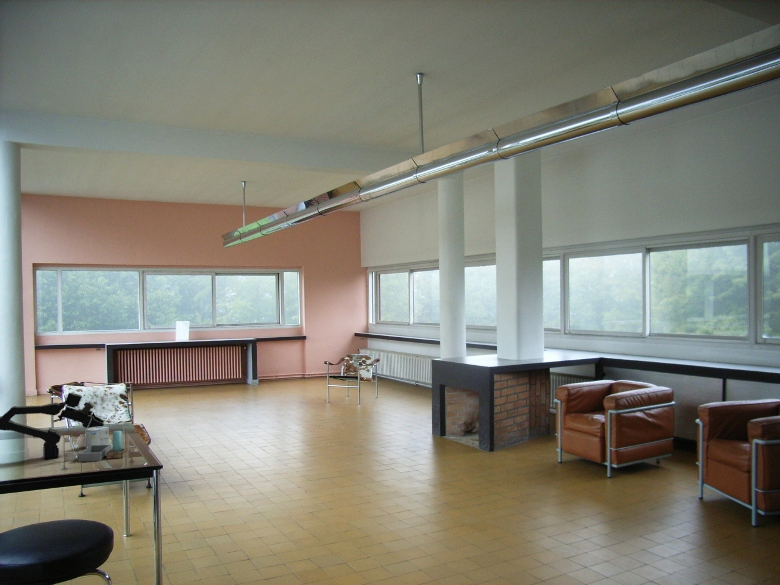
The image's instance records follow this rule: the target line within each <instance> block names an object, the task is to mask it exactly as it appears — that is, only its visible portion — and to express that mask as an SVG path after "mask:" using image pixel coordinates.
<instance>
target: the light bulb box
mask: <svg viewBox="0 0 780 585" xmlns="http://www.w3.org/2000/svg"><path fill="white" fill-rule="evenodd" d="M109 433H110V427H109V426H105V425H104V426H100V427H90V428H85V429H84V434H85V435H84V438H85V439H84V440H85V442H84V443H85V444H84V445H85V448H86V447H89V446H91V445H106V444H109V445H110V434H109Z"/></svg>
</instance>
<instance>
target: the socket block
mask: <svg viewBox="0 0 780 585" xmlns="http://www.w3.org/2000/svg"><path fill="white" fill-rule="evenodd" d="M128 452H129V451H128V448H127V447H124V448H123V447H122V452H113V448H111V450H109V451H108V452H107V456H106V458H107V457H113V458H112V459H123V458H124V457H126V456H127V455H128Z"/></svg>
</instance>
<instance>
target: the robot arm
mask: <svg viewBox="0 0 780 585" xmlns="http://www.w3.org/2000/svg"><path fill="white" fill-rule="evenodd" d="M82 397H83V396H82V395H81V394H78V393H73V392H68V394H67V397H66V399H65V401H62V402H51V403H47V404H42V405H23V406H20V405H19V406H16V405H14V406H11V407H10V408H9V409H8V410H7V411H6V412H5V413H4V414H3V415H1V416H0V431H5V432H6V431H11V432H14V433H15V432H16V433H20V434H22V435H23V434H24V435H27V436H31V437H35V438H38V439H41V440H42V441H44V442H43V447H42V457H41V458H42V459H43V460H44V461H48V459H49V460H55V459H58V458H59V456H60V450H59V449H60V448H59V446H58V445H57V444H58V443H60V441H61V438H62V433H61V432H60V431H58V429H53V428H50V427H49V428H48V429H47V430H44V429H41V428H37V427H33V426H29V425H25V424H22V423H17V422H15V421H14V420H12V419H13V417H15V416H16V415H17V416H18V415H34V414H35V415H36V414H37V415H38V414H43V415H48V416H57V415H58V416H57V418H58V419H59V421H60V422H61V421H62V419H63V418H64V419H68V420H71V421H73V422H78V423H81V424H82V428H85V429H89V428H94V427H100V426H105V424H104V423H105V420H103V419H102V418H100V417H98V416H97V415H96V414H95V412H93V410H92V409H93V408H94V407H95V404H94V403H92V402H91V401H88V402H87V401H86V402H84V404H83V407H82V408H78V409H76V407H78V406H79V404H80V402H81V400H82Z"/></svg>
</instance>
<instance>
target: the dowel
mask: <svg viewBox="0 0 780 585" xmlns="http://www.w3.org/2000/svg"><path fill="white" fill-rule="evenodd" d="M122 435H123V432H122V430H114V431H112V449H113V452H122V448H123V447H122V446H123V443H122V442H123V438H122V437H123V436H122Z"/></svg>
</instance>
